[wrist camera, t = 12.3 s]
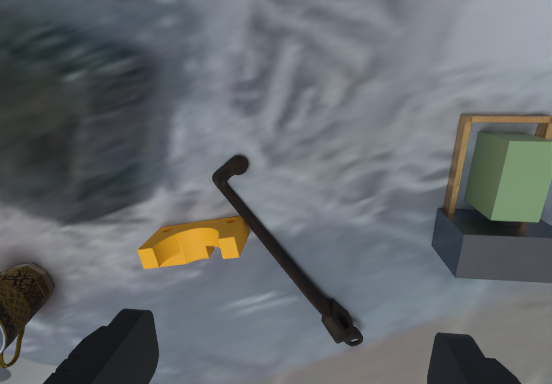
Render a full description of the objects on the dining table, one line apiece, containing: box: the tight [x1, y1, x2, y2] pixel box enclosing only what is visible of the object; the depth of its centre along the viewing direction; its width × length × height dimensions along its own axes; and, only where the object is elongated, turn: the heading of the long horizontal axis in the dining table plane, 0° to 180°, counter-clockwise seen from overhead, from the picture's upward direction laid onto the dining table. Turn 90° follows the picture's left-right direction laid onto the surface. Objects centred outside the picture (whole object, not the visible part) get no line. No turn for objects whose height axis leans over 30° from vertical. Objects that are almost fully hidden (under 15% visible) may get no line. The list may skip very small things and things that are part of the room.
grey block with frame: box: [432, 115, 552, 283], centre depth 33 cm, size 16×10×7 cm, turn 0°
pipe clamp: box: [137, 216, 250, 269], centre depth 40 cm, size 12×4×6 cm, turn 101°
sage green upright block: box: [464, 132, 552, 222], centre depth 33 cm, size 8×4×6 cm, turn 0°
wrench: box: [212, 156, 363, 346], centre depth 40 cm, size 5×5×30 cm
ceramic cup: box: [0, 263, 54, 368], centre depth 44 cm, size 13×10×10 cm
